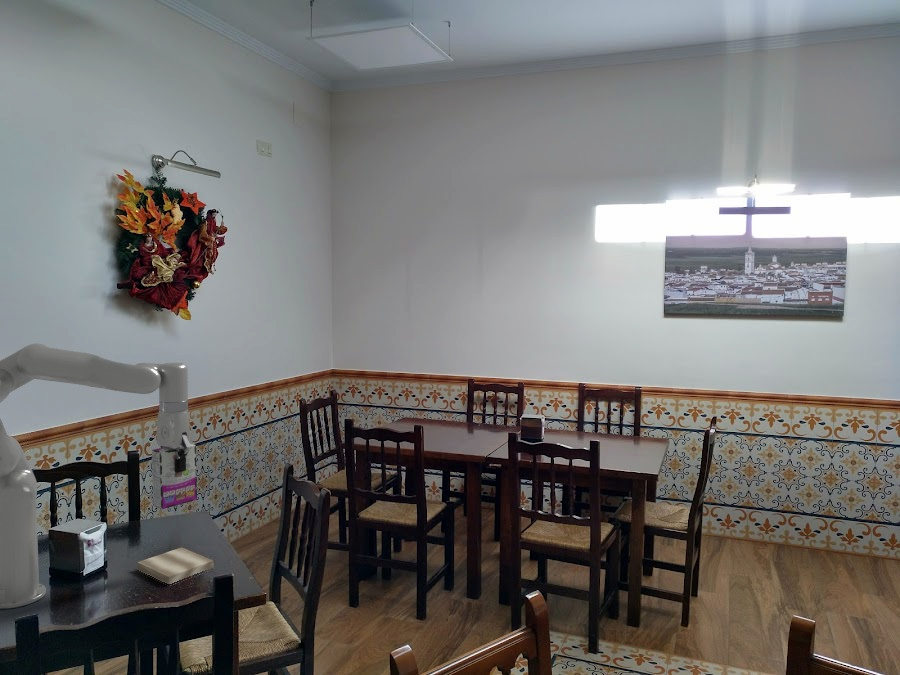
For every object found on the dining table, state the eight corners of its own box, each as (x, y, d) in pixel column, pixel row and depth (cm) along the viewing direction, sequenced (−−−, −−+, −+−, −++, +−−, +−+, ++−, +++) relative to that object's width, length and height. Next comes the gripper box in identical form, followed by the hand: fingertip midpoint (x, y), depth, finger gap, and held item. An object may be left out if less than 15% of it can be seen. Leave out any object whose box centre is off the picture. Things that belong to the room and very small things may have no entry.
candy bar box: (187, 496, 200) (187, 441, 199) (197, 500, 197) (197, 444, 196) (151, 506, 191) (150, 448, 190) (161, 510, 188) (160, 451, 187)
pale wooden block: (169, 587, 186) (168, 577, 185) (137, 572, 195) (137, 562, 195) (213, 570, 197) (213, 560, 197) (181, 556, 206) (181, 547, 206)
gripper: (144, 404, 194) (145, 467, 196) (179, 412, 184) (179, 478, 186) (168, 401, 200) (169, 462, 202) (203, 408, 190) (204, 472, 192)
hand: (174, 469), depth 194 cm, fingers closed on candy bar box, 5 cm apart
